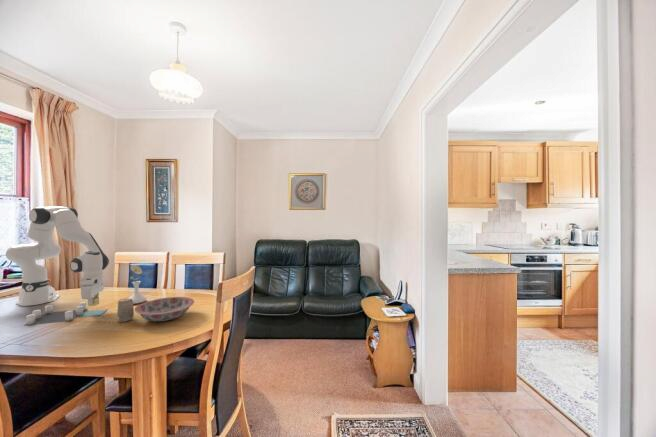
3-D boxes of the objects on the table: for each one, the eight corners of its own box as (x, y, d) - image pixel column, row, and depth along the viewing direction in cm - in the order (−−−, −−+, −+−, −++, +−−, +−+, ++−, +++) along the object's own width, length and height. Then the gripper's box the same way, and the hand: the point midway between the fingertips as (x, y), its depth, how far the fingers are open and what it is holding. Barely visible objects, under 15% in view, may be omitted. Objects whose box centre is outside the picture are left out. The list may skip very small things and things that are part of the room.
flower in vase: (149, 301, 187) (149, 264, 186) (130, 306, 177) (130, 267, 177) (140, 298, 194) (140, 262, 193) (121, 302, 184) (121, 265, 184)
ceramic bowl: (121, 324, 150) (121, 309, 149) (169, 307, 177) (169, 294, 177) (161, 332, 140) (161, 316, 139) (205, 313, 167) (205, 300, 167)
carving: (114, 322, 152) (114, 300, 152) (130, 317, 159) (129, 296, 159) (121, 324, 149) (121, 302, 149) (136, 319, 156) (136, 298, 156)
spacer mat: (43, 313, 163) (43, 305, 163) (90, 309, 171) (90, 301, 171) (20, 326, 145) (20, 317, 144) (74, 321, 152) (74, 312, 152)
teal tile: (86, 312, 166) (86, 311, 166) (106, 310, 170) (106, 309, 170) (78, 318, 157) (78, 317, 157) (100, 316, 161) (100, 315, 161)
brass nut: (89, 303, 164) (89, 297, 164) (100, 302, 166) (100, 296, 166) (86, 306, 160) (86, 299, 160) (97, 305, 162) (97, 298, 162)
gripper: (94, 275, 172) (94, 298, 172) (78, 283, 152) (78, 308, 153) (106, 274, 174) (106, 296, 174) (92, 282, 155) (92, 307, 155)
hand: (93, 302), depth 163 cm, fingers closed on brass nut, 5 cm apart
